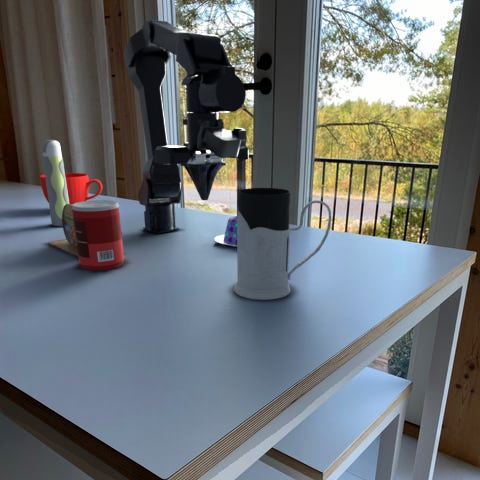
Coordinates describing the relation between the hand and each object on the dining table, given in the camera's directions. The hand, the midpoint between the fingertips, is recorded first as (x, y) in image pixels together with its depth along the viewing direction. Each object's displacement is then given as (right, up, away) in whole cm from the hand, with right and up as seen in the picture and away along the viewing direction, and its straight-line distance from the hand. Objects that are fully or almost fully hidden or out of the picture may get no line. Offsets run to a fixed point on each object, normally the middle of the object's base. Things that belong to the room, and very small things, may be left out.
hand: (204, 200), depth 93 cm
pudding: (+7, -7, +10) cm, 14 cm away
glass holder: (+13, -19, -19) cm, 30 cm away
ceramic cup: (-41, +8, +45) cm, 61 cm away
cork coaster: (-25, -9, +5) cm, 27 cm away
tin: (-25, -8, +5) cm, 27 cm away
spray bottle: (-38, 0, +27) cm, 46 cm away
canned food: (-18, -14, -6) cm, 23 cm away
